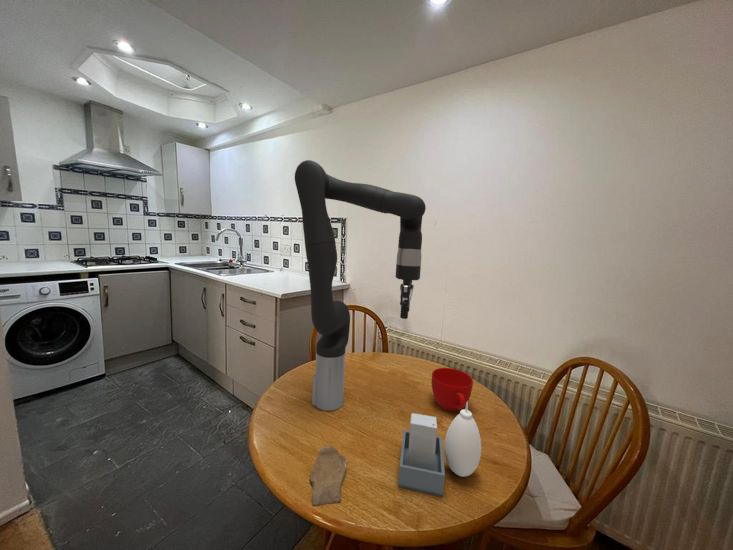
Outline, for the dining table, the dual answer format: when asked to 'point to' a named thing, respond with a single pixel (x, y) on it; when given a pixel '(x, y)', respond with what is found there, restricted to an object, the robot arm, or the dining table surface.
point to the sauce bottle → (463, 444)
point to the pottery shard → (327, 476)
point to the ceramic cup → (451, 388)
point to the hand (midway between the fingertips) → (404, 314)
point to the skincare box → (422, 441)
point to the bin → (422, 471)
